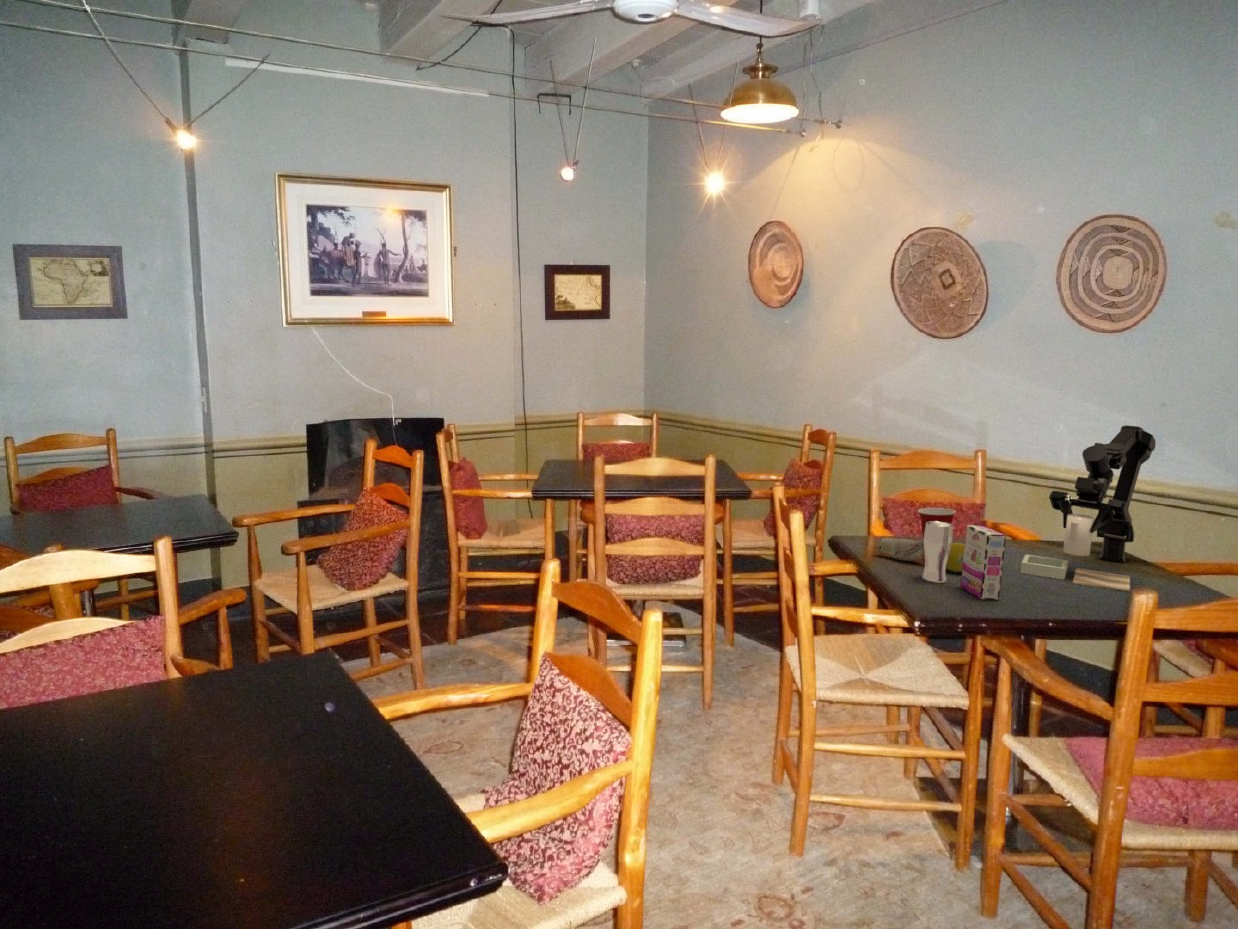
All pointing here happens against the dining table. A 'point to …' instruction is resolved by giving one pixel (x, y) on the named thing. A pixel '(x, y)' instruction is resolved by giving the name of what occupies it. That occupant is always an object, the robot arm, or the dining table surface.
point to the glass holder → (1044, 566)
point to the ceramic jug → (1078, 535)
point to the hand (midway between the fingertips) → (1077, 529)
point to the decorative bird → (901, 549)
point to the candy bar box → (983, 562)
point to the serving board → (1102, 579)
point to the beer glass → (936, 550)
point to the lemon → (956, 557)
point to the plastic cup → (935, 516)
